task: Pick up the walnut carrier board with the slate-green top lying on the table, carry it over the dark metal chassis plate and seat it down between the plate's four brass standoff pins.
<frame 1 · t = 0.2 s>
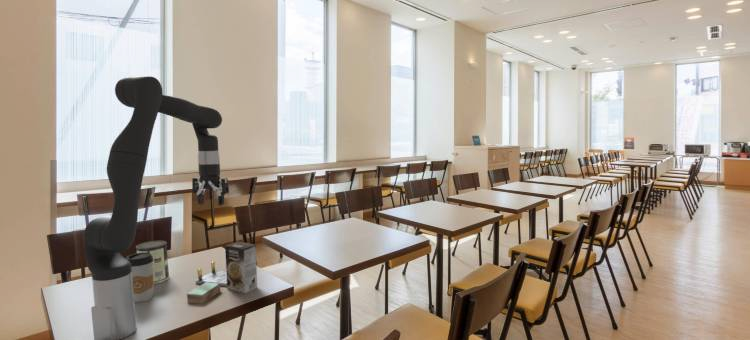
hand: (211, 204, 151), 28 cm above the table, tool pointing down, fingers open, 8 cm apart
chassis: (221, 279, 150), on the table
coffee cup: (142, 298, 135), on the table
board: (204, 297, 136), on the table
coffee box: (242, 288, 142), on the table
coffee can: (154, 280, 151), on the table
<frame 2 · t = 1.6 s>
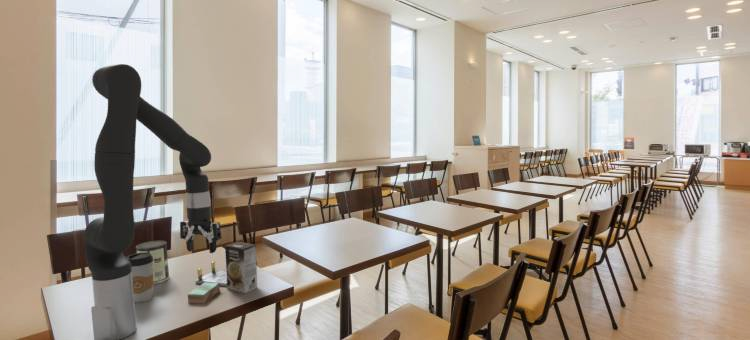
hand: (201, 251, 134), 16 cm above the table, tool pointing down, fingers open, 8 cm apart
nothing on the table moved.
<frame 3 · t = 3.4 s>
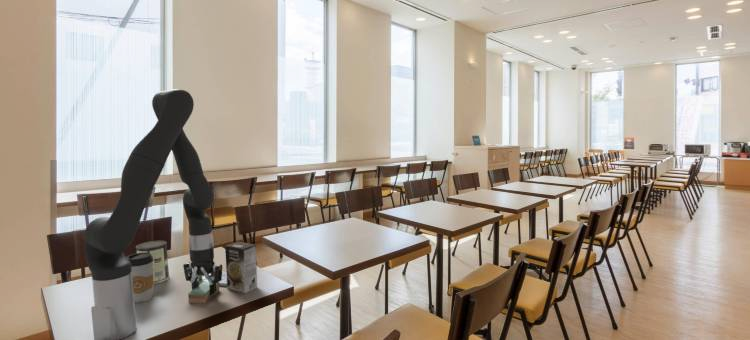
hand: (204, 293, 136), 1 cm above the table, tool pointing down, fingers closed on board, 6 cm apart
board: (204, 296, 136), on the table, touching gripper
everything else where it was.
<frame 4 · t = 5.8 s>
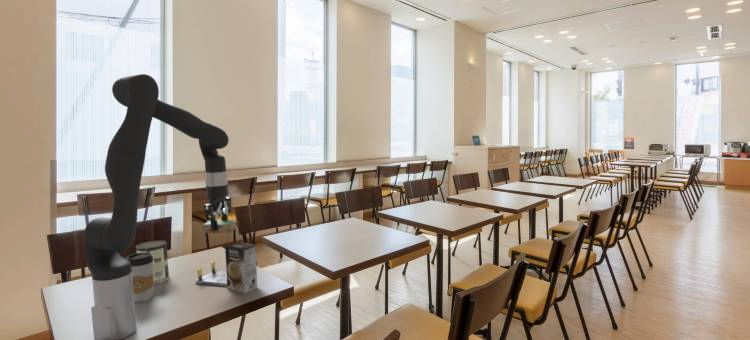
hand: (219, 227, 147), 20 cm above the table, tool pointing down, fingers closed on board, 6 cm apart
board: (220, 230, 147), point 19 cm above the table, touching gripper
everything else where it was.
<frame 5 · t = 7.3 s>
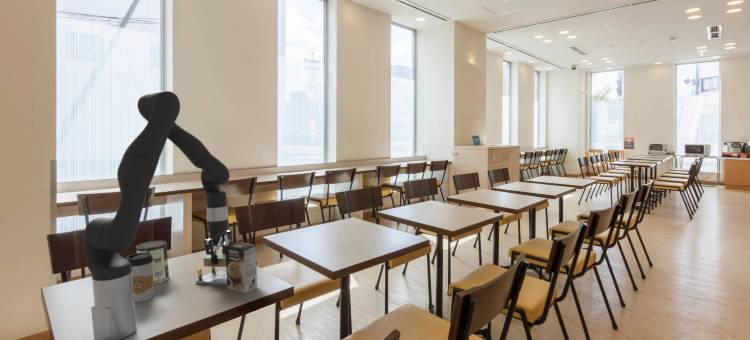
hand: (220, 261, 150), 7 cm above the table, tool pointing down, fingers closed on board, 6 cm apart
board: (220, 264, 150), point 6 cm above the table, touching gripper
everything else where it was.
when the fingers open (4 cm above the table, at t = 8.5 s): board drops 1 cm, resting on chassis.
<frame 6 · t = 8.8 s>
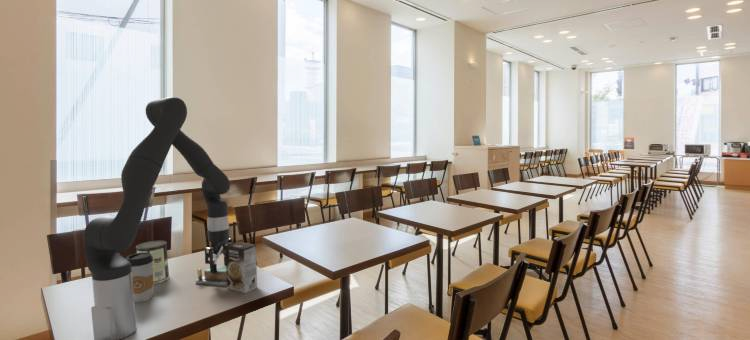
hand: (220, 269, 150), 4 cm above the table, tool pointing down, fingers open, 8 cm apart
board: (221, 276, 150), point 1 cm above the table, touching chassis
everything else where it was.
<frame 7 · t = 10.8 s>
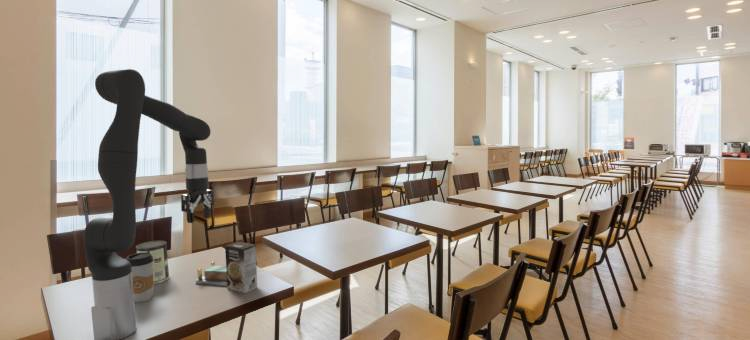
hand: (198, 220, 144), 24 cm above the table, tool pointing down, fingers open, 8 cm apart
nothing on the table moved.
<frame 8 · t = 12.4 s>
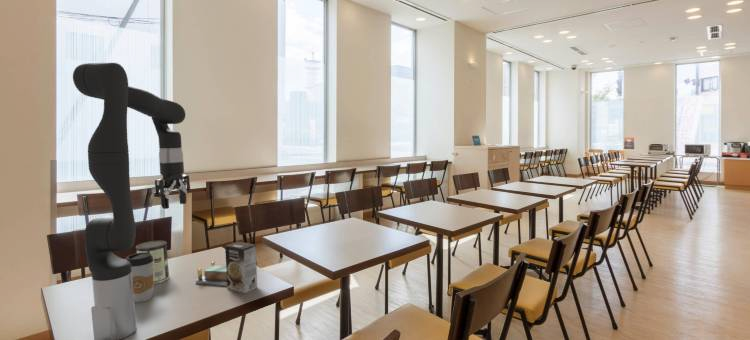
hand: (174, 206, 141), 30 cm above the table, tool pointing down, fingers open, 8 cm apart
nothing on the table moved.
at the end: board 0.1 cm off-centre on the chassis, point 1.2 cm above the chassis's base; board tilted 0°; the gripper is holding nothing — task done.
